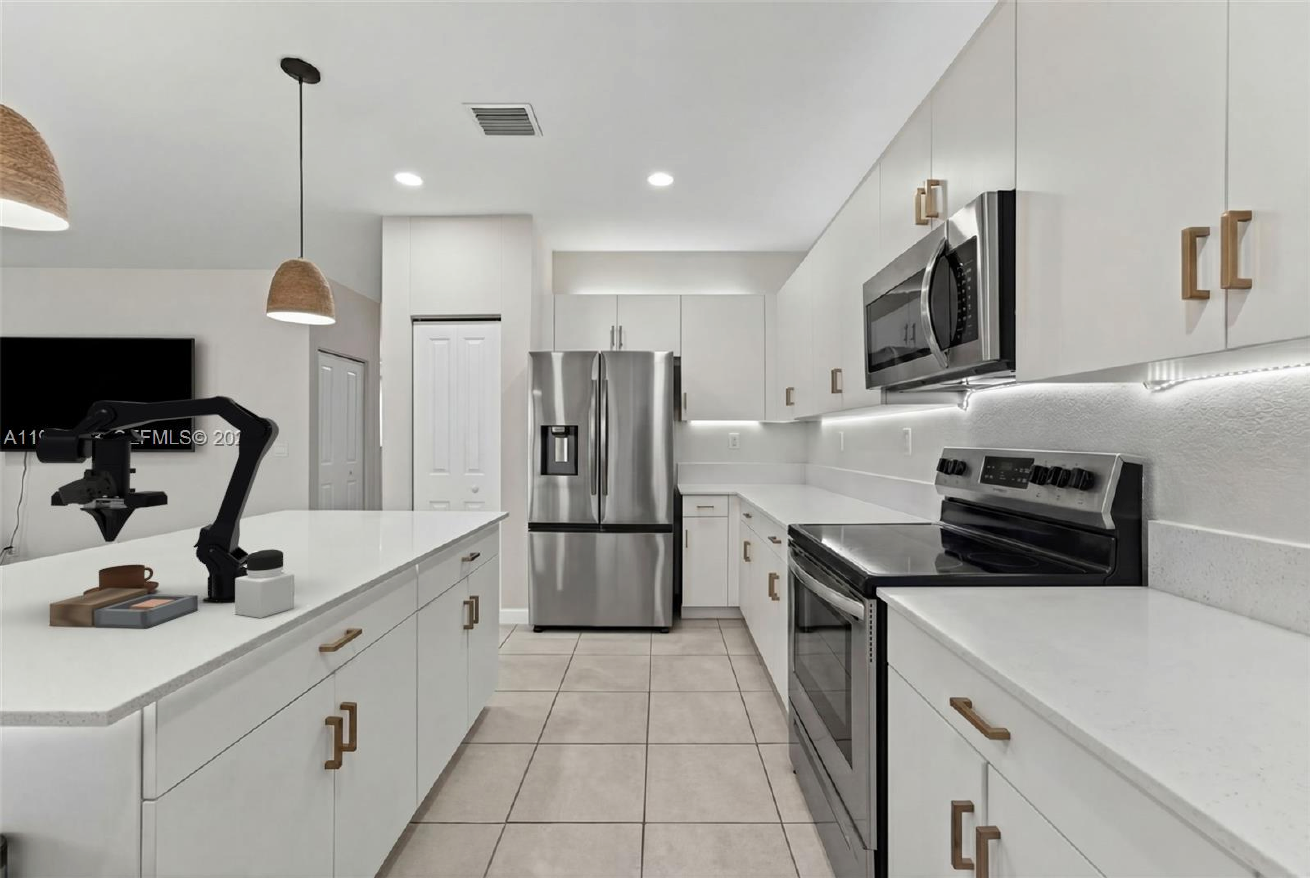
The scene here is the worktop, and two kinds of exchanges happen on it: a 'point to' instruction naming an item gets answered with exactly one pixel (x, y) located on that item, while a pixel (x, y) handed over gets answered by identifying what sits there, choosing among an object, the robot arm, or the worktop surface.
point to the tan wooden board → (89, 606)
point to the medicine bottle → (264, 586)
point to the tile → (149, 604)
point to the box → (145, 612)
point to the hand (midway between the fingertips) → (109, 541)
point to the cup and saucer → (125, 578)
